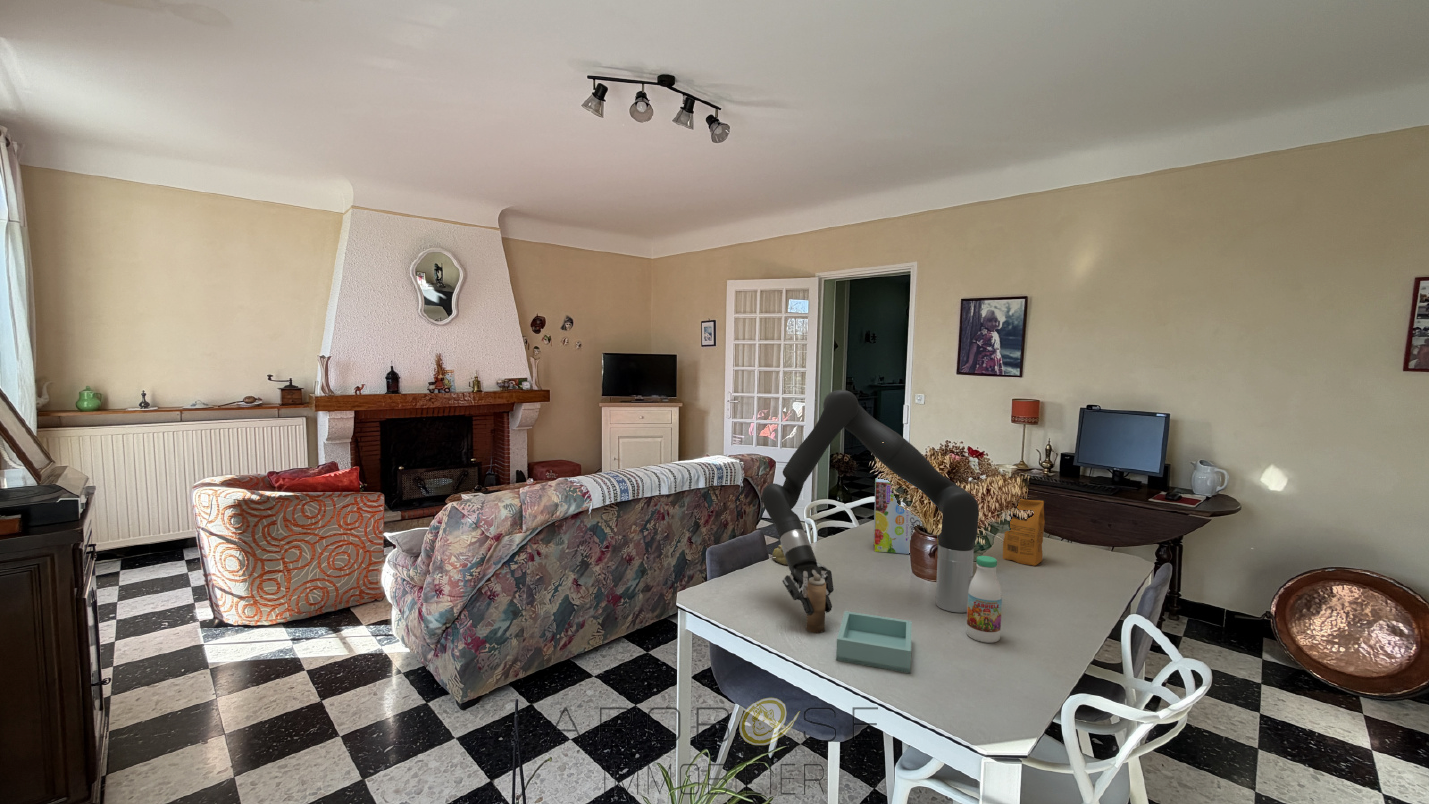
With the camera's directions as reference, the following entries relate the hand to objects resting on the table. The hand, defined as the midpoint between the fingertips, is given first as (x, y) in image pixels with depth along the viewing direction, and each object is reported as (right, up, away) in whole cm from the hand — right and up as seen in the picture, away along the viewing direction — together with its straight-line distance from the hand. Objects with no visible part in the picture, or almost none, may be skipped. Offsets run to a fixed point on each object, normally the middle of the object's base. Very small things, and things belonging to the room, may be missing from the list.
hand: (820, 612), depth 148 cm
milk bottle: (+41, -6, 0) cm, 41 cm away
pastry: (0, -2, +53) cm, 53 cm away
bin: (+11, -6, -8) cm, 15 cm away
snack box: (+42, -1, +66) cm, 78 cm away
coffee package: (+81, -3, +58) cm, 99 cm away
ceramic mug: (+2, -3, +30) cm, 30 cm away
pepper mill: (-1, -5, +2) cm, 6 cm away
